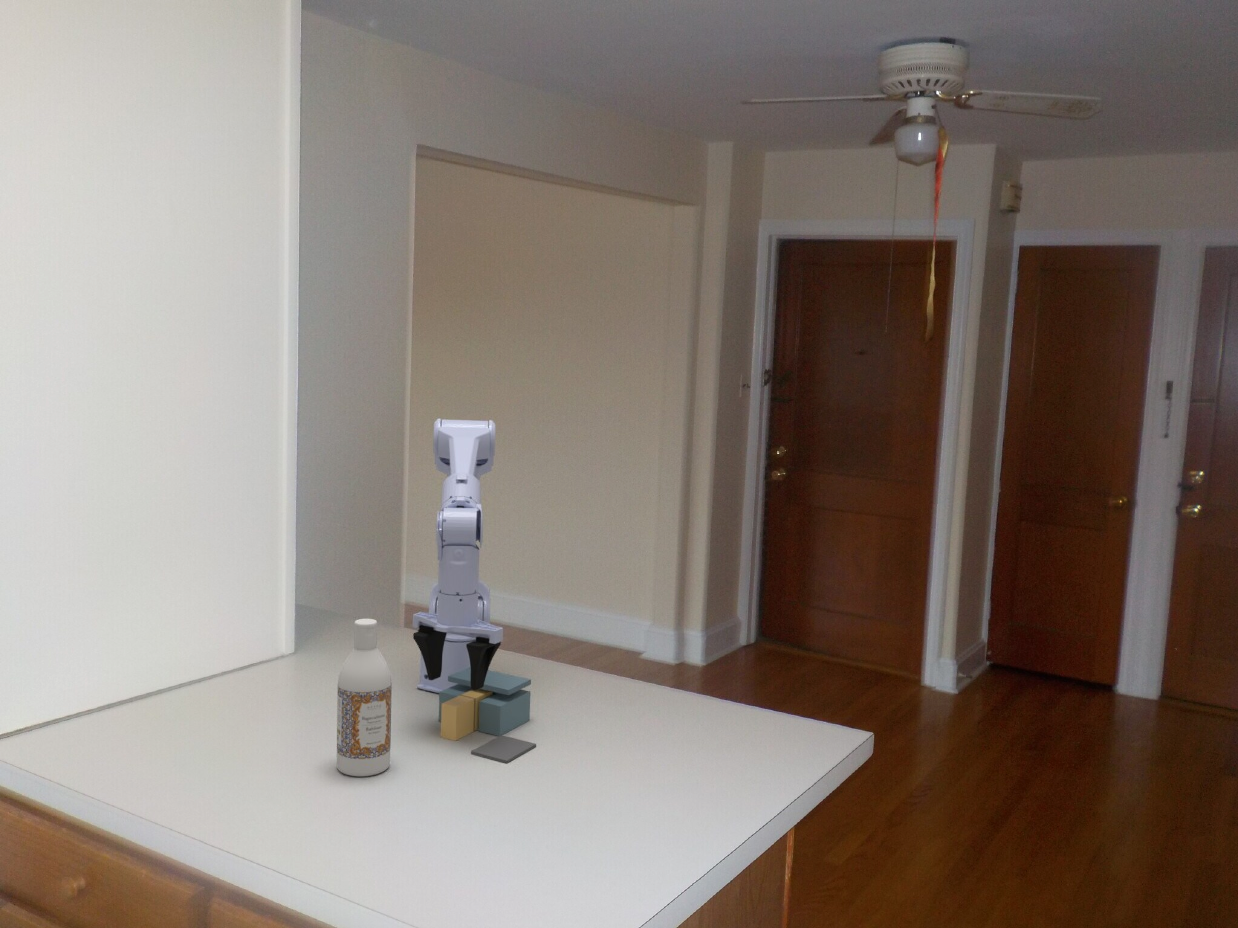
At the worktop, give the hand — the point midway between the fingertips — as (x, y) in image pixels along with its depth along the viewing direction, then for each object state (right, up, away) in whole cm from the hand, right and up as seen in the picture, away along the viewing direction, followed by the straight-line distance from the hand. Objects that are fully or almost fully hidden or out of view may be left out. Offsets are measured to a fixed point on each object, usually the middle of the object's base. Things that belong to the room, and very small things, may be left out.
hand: (455, 683), depth 157 cm
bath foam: (-11, -9, -12) cm, 18 cm away
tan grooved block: (+1, -8, +4) cm, 8 cm away
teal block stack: (+3, -7, +8) cm, 11 cm away
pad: (+7, -9, -4) cm, 12 cm away
